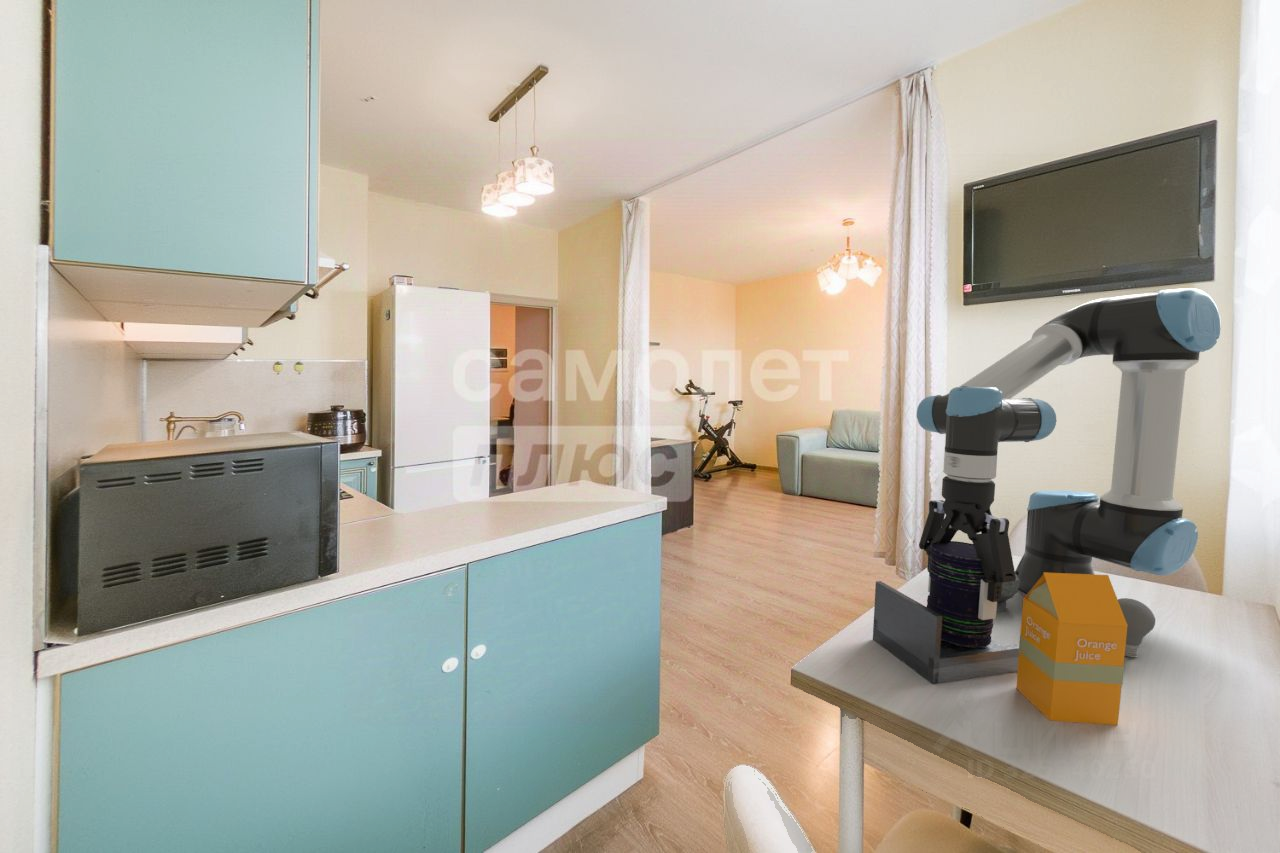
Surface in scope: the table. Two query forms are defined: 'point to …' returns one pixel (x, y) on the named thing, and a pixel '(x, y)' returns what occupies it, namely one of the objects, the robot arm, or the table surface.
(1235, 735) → the table surface
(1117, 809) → the table surface
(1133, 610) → the light bulb
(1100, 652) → the orange juice
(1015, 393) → the robot arm
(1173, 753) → the table surface
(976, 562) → the dark navy cylinder
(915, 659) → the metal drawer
